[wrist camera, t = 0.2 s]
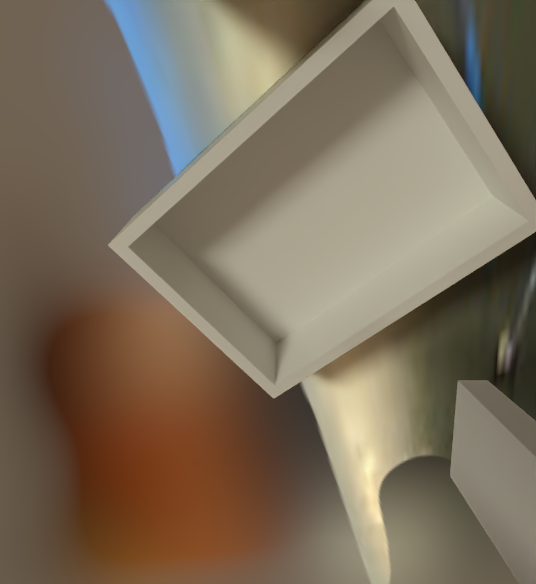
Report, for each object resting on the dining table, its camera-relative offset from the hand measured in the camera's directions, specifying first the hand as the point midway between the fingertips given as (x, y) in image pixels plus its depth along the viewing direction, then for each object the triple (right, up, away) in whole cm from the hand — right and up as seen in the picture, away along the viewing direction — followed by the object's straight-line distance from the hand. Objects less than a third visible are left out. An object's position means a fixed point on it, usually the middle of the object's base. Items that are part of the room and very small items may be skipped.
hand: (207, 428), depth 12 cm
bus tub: (+6, +11, +25) cm, 28 cm away
